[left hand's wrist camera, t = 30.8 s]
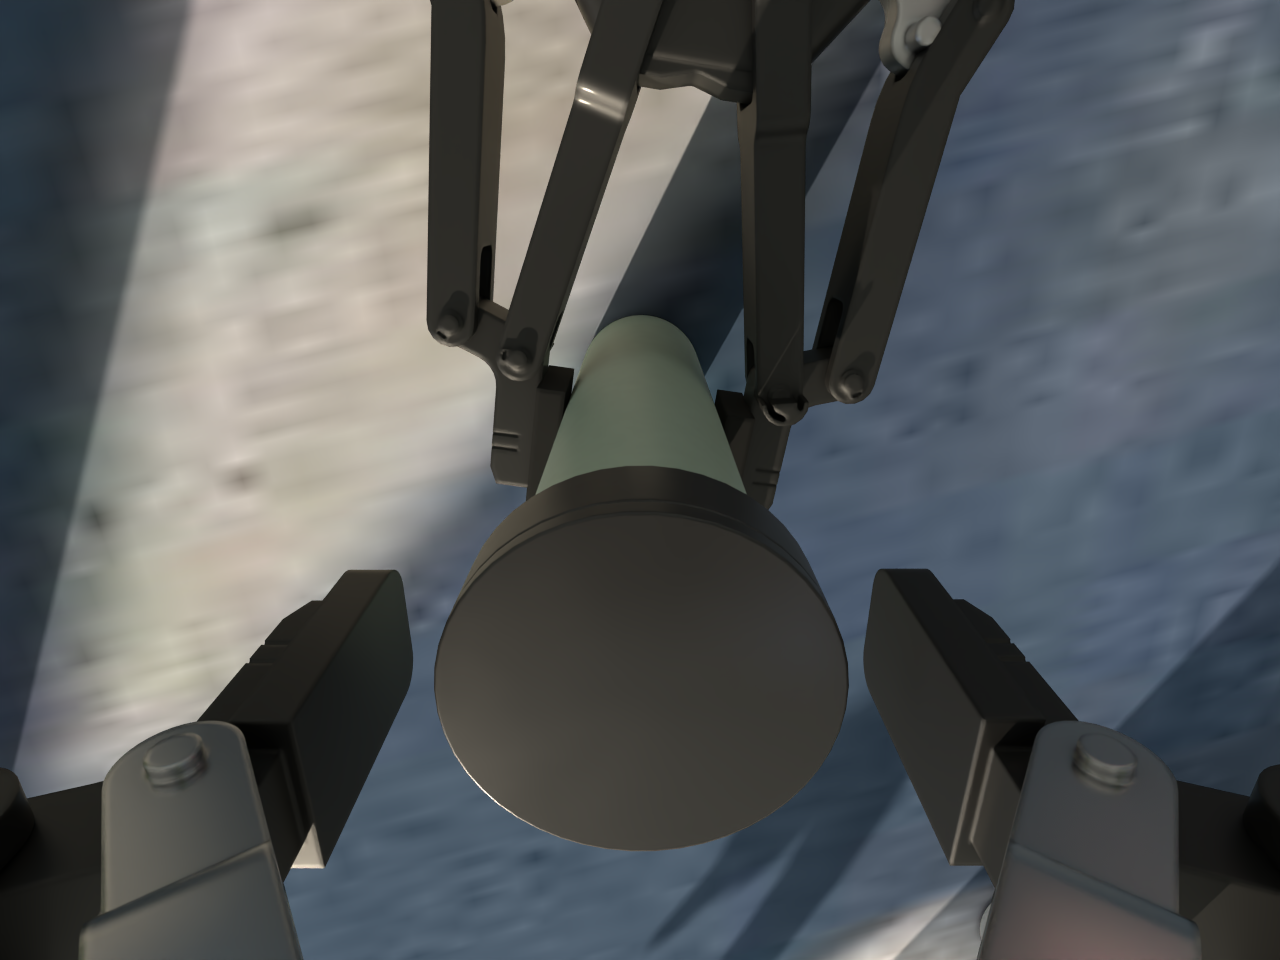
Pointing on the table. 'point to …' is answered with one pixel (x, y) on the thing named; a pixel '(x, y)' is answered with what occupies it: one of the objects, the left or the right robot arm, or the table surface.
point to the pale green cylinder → (641, 408)
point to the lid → (641, 662)
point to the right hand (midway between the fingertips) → (616, 587)
